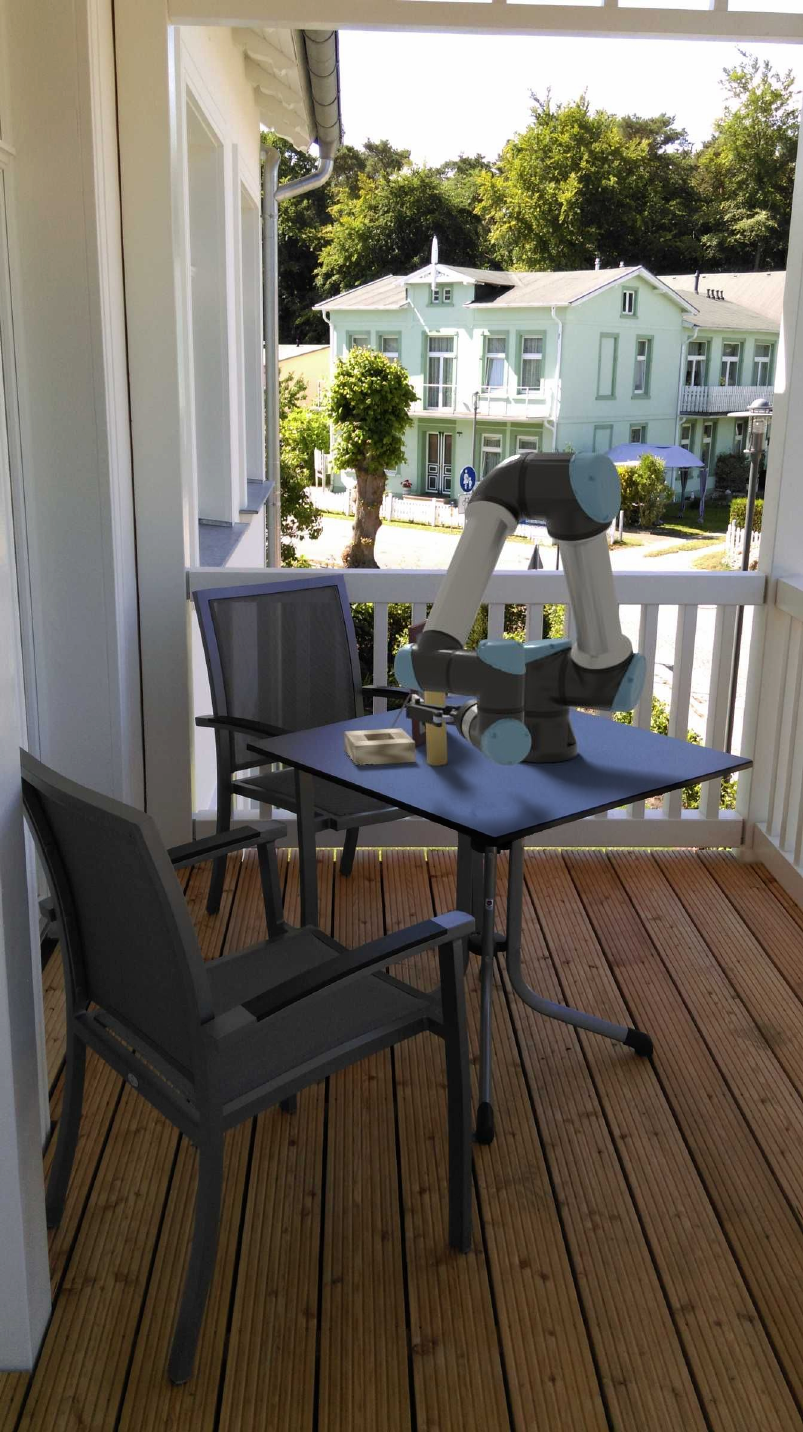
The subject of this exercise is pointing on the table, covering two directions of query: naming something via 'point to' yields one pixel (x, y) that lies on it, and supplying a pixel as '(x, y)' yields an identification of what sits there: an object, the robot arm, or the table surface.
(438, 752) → the peg
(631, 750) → the table surface
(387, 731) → the socket block
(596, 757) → the table surface
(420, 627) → the picture frame
